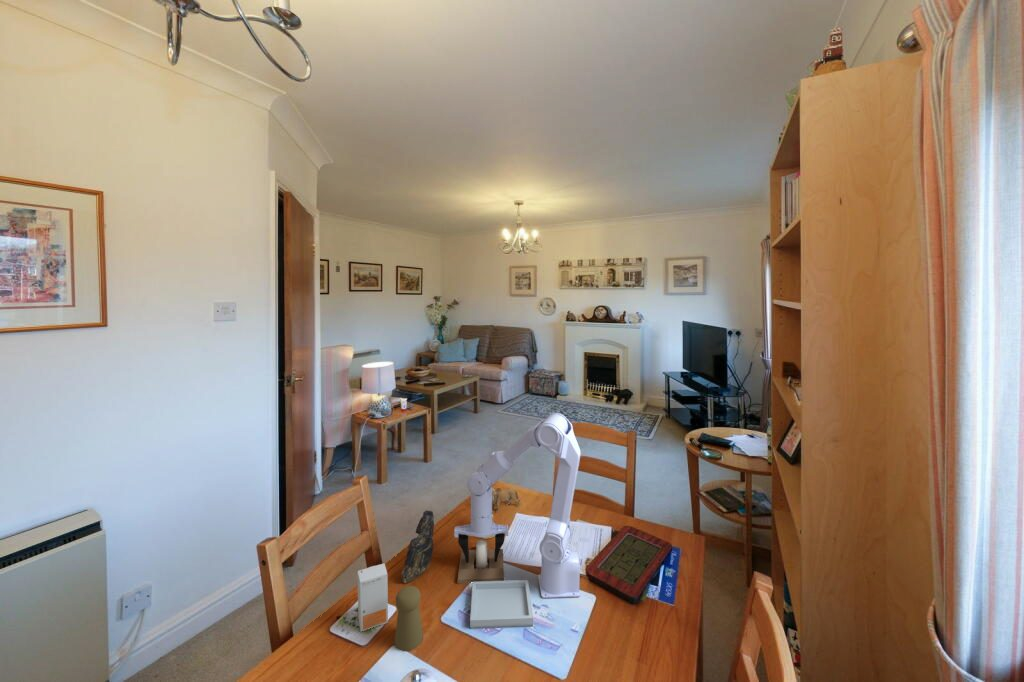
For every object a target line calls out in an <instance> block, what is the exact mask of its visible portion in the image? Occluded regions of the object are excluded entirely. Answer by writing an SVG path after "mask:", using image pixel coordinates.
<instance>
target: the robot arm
mask: <svg viewBox="0 0 1024 682" xmlns="http://www.w3.org/2000/svg"><path fill="white" fill-rule="evenodd" d="M573 428H574V427H573V424H572V422H570V420H569V419H568V418H567V417H566V416H565V415H563V414H562V413H560V412H553V413H550V414H549V415H548V416H547V417H546V418H545V419H541V420H540V421H539V422H537V423H535V424H534V425H533V426H532V427H530V428H529V429H527V430H526V431H525V432H524V434H522V435H521V436H520V437H519V438H518V439H517V440H515V442H514V443H512V445H511V446H509V447H508V448H507V449H506V450H497V451H493V452H491V454H490V455H488V456H489V458H488V459H487V460H486V461H485V462H484V463H480V464H479V465H478V468H477V469H476V470H475V471H474V472H472V473H471V474H470V475H469V477H468V478H467V480H466V486H467V488H468V490H469V492H470V524H463V525H459V526H455V527H454V531H453V532H454V533H453V534H454V537H453V538H458V540H457V541H458V546H459V547H460V548H461V550H463V553H464V555H465V559H466V563H469V550H470V549H469V536H470V537H475V538H478V537H486V536H490V535H495V537H494V549H495V552H494V562H497V558H498V554H499V551H500V549H502V546H503V545H504V544H505V537H508V536H509V525H504V524H499V523H495V524H493V523H492V514H493V510H492V488H493V485H494V484H496V483H497V482H498V481H499V480H500V479H501V478H503V477H504V476H505V475H506V474H507V473H508V472H509V471H511V470H512V468H513V467H514V464H513V463H514V462H513V461H515V460H516V459H517V458H518V457H520V456H521V455H522V454H524V453H525V452H526V451H527V450H528V449H530V448H531V447H534V448H540V447H541V446H542V447H543V448H544V449H546V450H547V451H549V452H550V453H551V454H553V455H555V457H556V458H557V460H558V461H559V463H558V467H557V468H558V469H557V471H556V472H557V473H556V474H557V475H556V479H555V485H554V491H553V497H552V503H551V507H550V508H551V509H550V514H549V518H548V519H549V521H548V523H547V525H546V530H545V534H544V535H543V538H542V540H541V541H540V543H539V552H540V555H541V566H540V567H541V568H540V569H541V570H540V571H541V573H539V574H538V575H537V578H538V584H539V590H540V596H541V598H543V599H546V598H547V599H549V598H551V599H553V598H575V597H576V598H578V597H580V595H581V594H580V572H581V571H580V560H579V559H580V558H579V556H578V552H577V551H575V550H570V547H569V545H568V544H569V542H570V540H571V538H572V534H573V533H572V527H571V518H570V517H571V511H572V507H573V500H574V495H575V489H576V482H577V477H578V471H579V466H580V462H581V461H580V459H581V456H582V455H581V454H582V453H581V452H582V451H581V449H580V448H581V447H580V446H579V443H578V441H577V438H576V435H575V433H574V432H575V431H574V429H573Z"/></svg>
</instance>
